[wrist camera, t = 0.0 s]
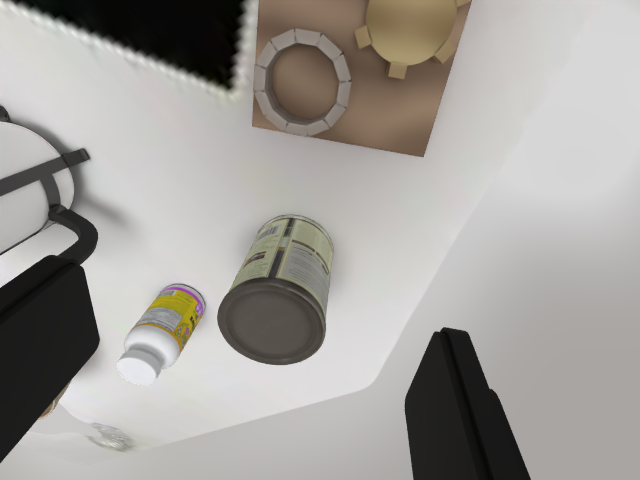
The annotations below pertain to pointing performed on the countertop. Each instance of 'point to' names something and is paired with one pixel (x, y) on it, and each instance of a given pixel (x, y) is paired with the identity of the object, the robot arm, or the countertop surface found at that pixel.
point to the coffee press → (38, 190)
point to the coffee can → (280, 293)
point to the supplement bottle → (160, 334)
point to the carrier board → (355, 69)
